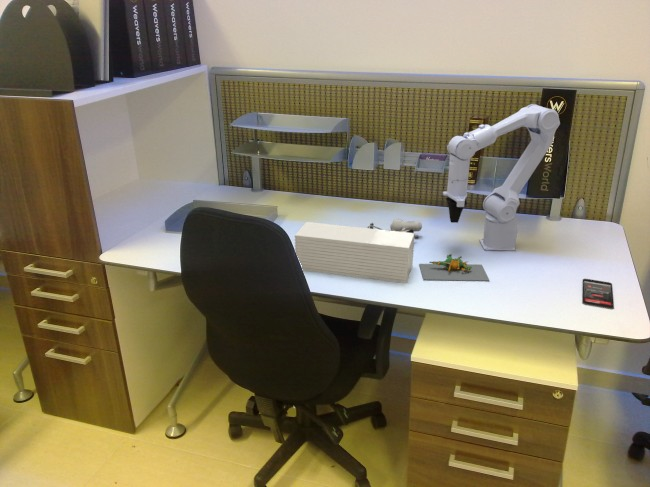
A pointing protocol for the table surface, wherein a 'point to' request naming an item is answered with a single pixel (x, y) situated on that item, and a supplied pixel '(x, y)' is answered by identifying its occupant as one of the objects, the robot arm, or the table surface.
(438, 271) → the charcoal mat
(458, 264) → the figurine
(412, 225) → the clip-on lamp
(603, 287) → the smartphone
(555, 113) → the robot arm
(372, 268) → the stack of papers
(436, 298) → the table surface
